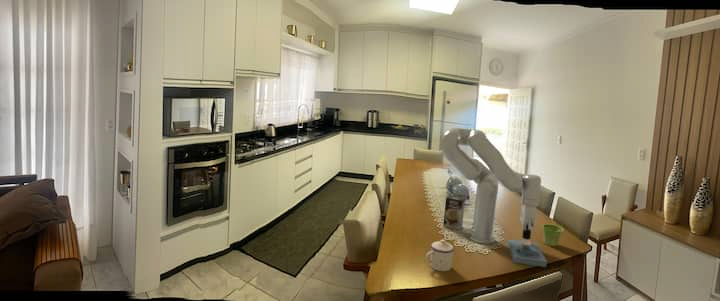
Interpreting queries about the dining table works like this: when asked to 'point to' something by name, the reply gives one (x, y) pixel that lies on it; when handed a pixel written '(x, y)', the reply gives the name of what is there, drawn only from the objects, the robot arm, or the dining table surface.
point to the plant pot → (551, 234)
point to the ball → (526, 243)
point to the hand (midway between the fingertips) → (526, 238)
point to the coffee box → (454, 212)
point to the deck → (526, 254)
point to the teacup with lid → (440, 255)
